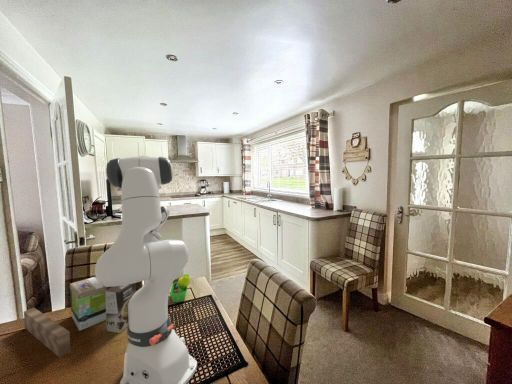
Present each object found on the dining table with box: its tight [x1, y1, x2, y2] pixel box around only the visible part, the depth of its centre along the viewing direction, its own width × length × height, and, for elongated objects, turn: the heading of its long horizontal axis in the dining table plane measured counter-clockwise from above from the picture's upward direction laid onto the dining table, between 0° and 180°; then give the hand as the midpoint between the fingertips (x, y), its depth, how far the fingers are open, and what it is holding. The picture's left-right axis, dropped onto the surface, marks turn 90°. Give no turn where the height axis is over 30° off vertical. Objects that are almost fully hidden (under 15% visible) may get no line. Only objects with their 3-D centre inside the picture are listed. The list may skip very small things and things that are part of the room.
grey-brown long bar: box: [23, 307, 71, 358], centre depth 80 cm, size 30×3×7 cm, turn 62°
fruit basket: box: [169, 273, 191, 303], centre depth 108 cm, size 11×9×11 cm
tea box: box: [69, 276, 108, 331], centre depth 92 cm, size 15×10×15 cm
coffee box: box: [105, 282, 137, 334], centre depth 88 cm, size 9×6×16 cm
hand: (130, 255), depth 108 cm, fingers closed
